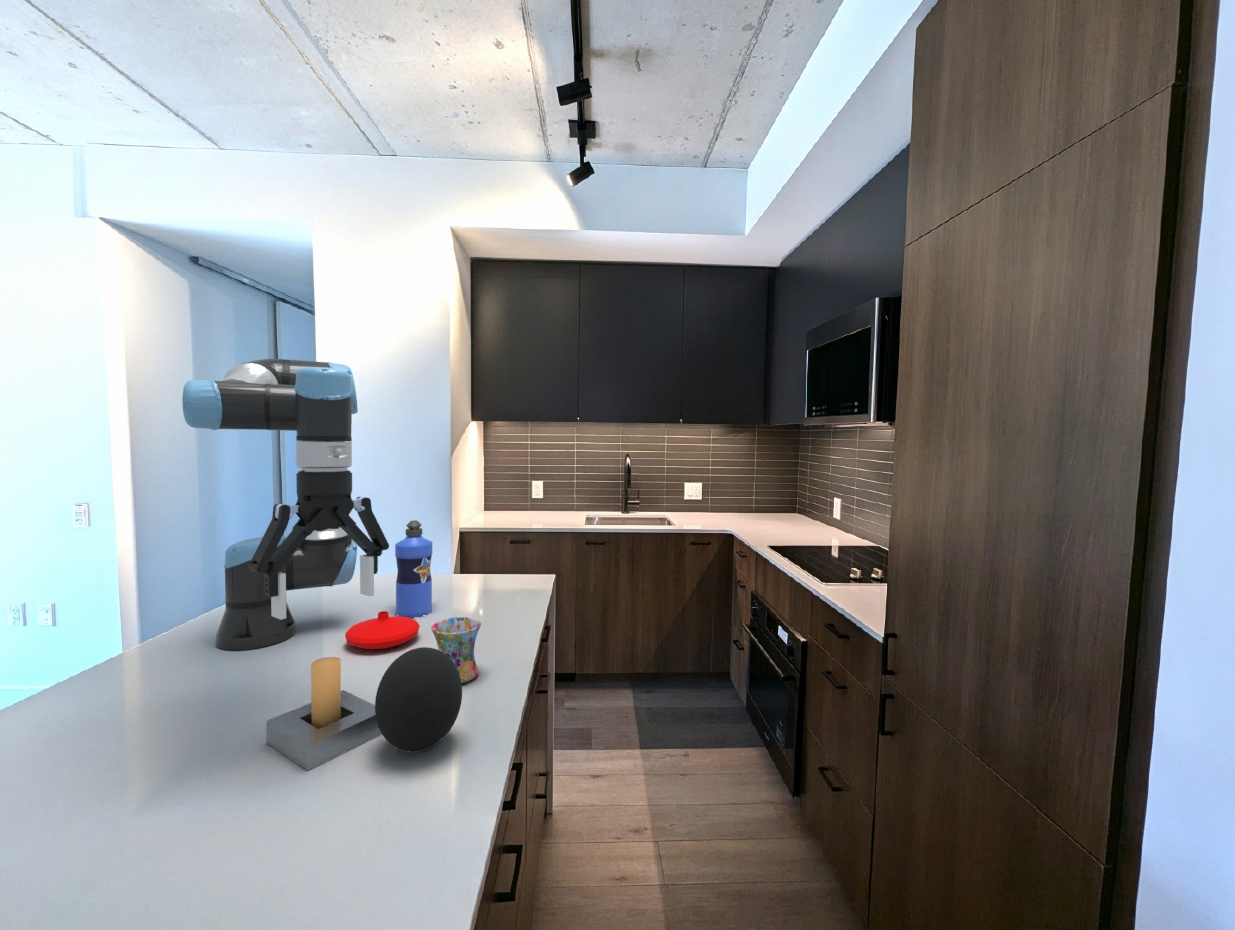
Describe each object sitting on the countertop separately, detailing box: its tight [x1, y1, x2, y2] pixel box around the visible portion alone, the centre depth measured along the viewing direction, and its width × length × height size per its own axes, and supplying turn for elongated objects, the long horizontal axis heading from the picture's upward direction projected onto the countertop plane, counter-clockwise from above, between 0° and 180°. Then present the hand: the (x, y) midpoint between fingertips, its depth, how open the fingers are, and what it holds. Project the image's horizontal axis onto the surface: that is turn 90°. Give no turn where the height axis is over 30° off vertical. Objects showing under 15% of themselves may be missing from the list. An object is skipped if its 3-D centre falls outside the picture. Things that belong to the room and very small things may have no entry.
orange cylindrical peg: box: [310, 656, 342, 729], centre depth 81 cm, size 4×4×12 cm
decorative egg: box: [374, 646, 463, 753], centre depth 79 cm, size 12×12×15 cm
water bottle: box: [394, 519, 433, 619], centre depth 140 cm, size 9×9×25 cm
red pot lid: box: [344, 610, 421, 650], centre depth 120 cm, size 16×16×7 cm
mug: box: [430, 616, 482, 684], centre depth 104 cm, size 12×9×11 cm
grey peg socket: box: [265, 689, 382, 771], centre depth 81 cm, size 12×12×4 cm
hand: (326, 605), depth 81 cm, fingers open, 13 cm apart
